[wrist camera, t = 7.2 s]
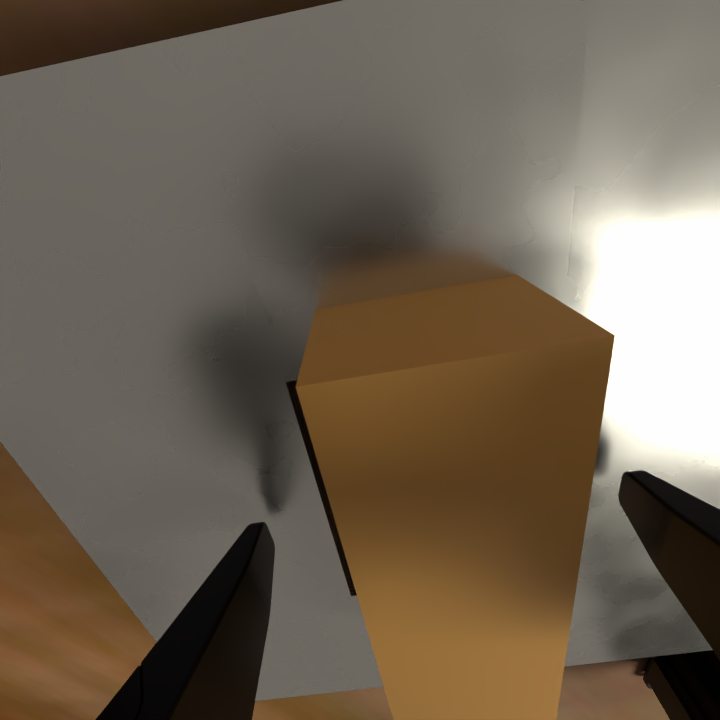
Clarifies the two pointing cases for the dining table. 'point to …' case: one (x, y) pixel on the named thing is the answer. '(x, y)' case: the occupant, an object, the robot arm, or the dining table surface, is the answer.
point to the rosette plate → (351, 278)
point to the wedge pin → (460, 485)
